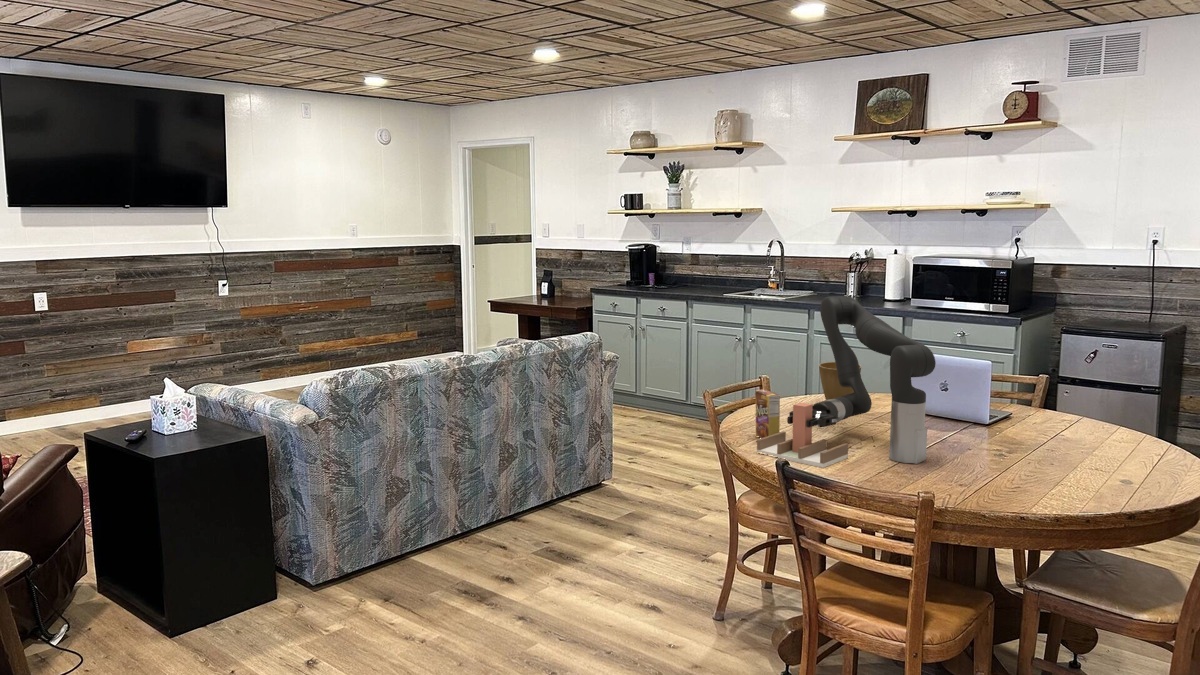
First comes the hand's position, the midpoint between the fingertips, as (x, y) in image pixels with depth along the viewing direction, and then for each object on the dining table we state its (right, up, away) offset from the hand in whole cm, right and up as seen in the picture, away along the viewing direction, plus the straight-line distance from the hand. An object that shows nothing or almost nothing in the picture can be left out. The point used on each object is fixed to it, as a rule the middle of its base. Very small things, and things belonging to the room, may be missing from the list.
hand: (798, 422), depth 254 cm
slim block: (+2, -9, +3) cm, 10 cm away
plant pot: (+30, -1, +66) cm, 72 cm away
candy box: (-5, -8, +22) cm, 24 cm away
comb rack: (+2, -10, +3) cm, 11 cm away
